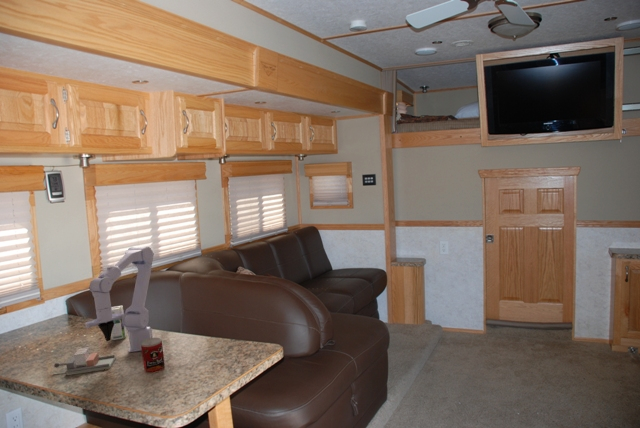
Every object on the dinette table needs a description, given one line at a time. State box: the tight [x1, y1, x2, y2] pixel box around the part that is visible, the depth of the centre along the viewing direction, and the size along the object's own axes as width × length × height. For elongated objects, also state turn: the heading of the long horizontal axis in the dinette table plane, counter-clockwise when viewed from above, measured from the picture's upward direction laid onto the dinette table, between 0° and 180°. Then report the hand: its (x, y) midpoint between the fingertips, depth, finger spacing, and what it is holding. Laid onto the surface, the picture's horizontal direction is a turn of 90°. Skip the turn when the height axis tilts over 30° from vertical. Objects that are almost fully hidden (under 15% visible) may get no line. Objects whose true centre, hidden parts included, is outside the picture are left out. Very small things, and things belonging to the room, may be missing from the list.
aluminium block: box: [73, 346, 92, 368], centre depth 201 cm, size 4×7×6 cm, turn 10°
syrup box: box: [111, 305, 127, 341], centre depth 234 cm, size 6×6×14 cm
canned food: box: [141, 337, 166, 374], centre depth 194 cm, size 8×8×11 cm
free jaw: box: [86, 352, 100, 367], centre depth 202 cm, size 3×8×3 cm, turn 10°
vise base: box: [53, 354, 116, 376], centre depth 201 cm, size 22×10×4 cm, turn 100°
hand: (108, 340), depth 202 cm, fingers closed
